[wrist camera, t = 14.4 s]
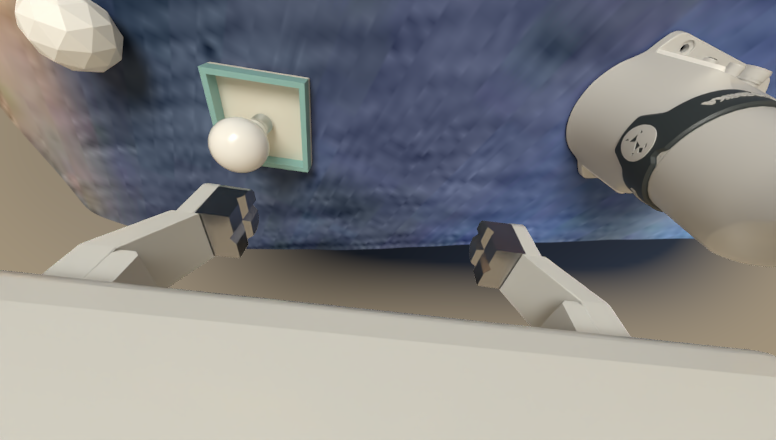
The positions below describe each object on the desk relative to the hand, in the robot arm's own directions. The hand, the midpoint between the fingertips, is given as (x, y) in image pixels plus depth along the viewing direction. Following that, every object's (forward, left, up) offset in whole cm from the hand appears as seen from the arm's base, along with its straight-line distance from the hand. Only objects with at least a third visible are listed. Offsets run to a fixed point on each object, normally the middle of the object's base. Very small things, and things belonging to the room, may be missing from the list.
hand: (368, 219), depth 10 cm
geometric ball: (+34, +2, -31) cm, 46 cm away
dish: (+16, +10, -31) cm, 36 cm away
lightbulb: (+16, +10, -31) cm, 36 cm away
